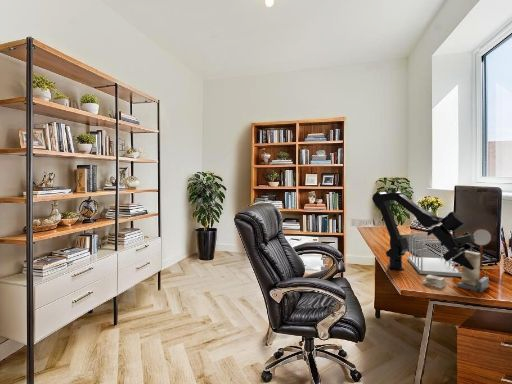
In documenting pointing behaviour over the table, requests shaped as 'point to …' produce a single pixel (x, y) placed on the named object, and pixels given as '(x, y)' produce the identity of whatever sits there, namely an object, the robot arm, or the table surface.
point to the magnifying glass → (482, 240)
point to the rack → (480, 287)
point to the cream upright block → (471, 275)
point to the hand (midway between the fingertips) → (474, 268)
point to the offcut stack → (434, 281)
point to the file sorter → (431, 260)
